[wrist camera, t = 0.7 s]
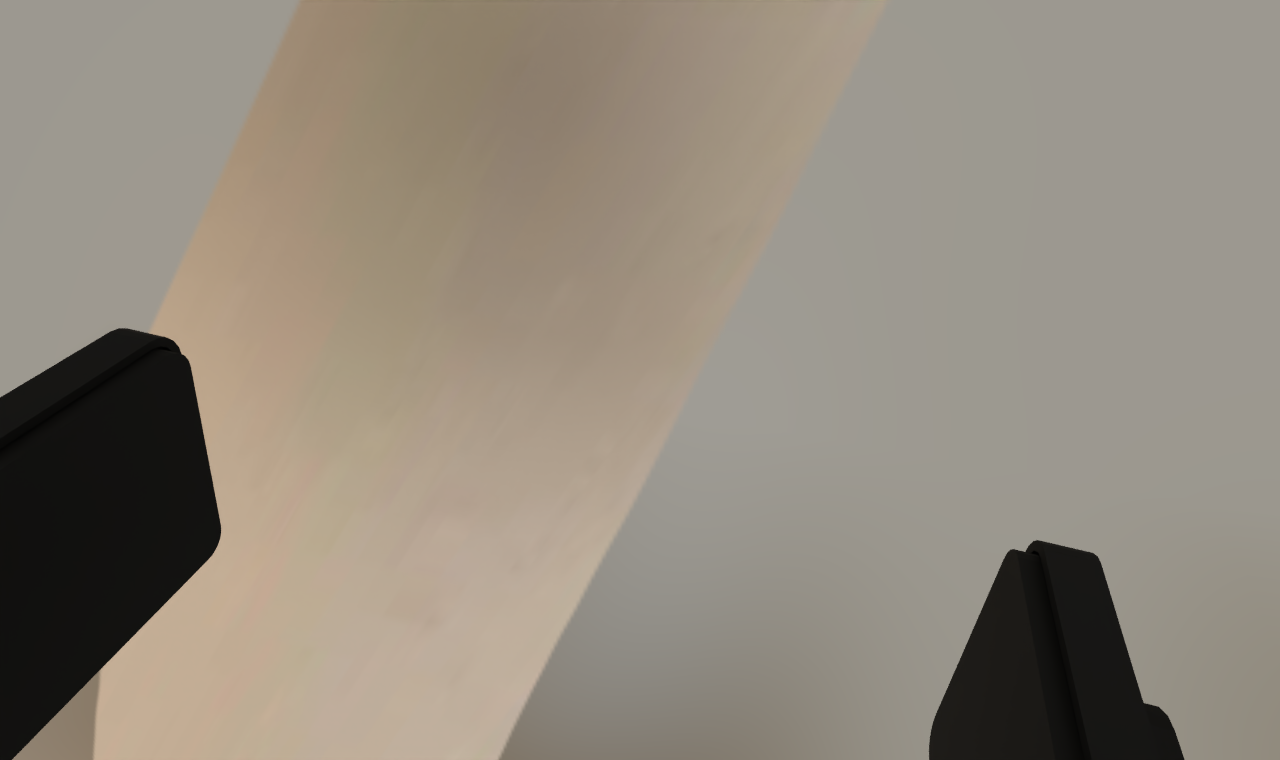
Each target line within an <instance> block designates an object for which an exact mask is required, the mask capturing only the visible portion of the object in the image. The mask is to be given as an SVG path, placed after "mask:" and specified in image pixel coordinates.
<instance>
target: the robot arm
mask: <svg viewBox="0 0 1280 760" xmlns="http://www.w3.org/2000/svg"><path fill="white" fill-rule="evenodd" d="M220 536H221V524H220V518H219V513H218V508H217V503H216V497H215V492H214V487H213V482H212V476H211V471H210V466H209V461H208V455H207V450H206V445H205V439H204V434H203V429H202V424H201V418H200V413H199V408H198V403H197V397H196V392H195V387H194V382H193V376H192V371H191V366H190V363H189V360H188V359H187V358H186V357H185V356H184V355H182V354H181V352H180V349H179V347H178V346H177V344H176V343H175V342H174V341H173V340H171V339H169V338H166V337H162V336H157V335H153V334H149V333H144V332H140V331H135V330H131V329H125V328H124V329H123V328H122V329H120V328H119V329H116V330H114V331H111V332H109V333H107V334H106V335H104V336H102V337H101V338H99V339H97V340H96V341H94V342H92V343H91V344H89V345H87V346H86V347H84V348H82V349H81V350H79V351H77V352H76V353H74V354H72V355H71V356H69V357H67V358H66V359H64V360H62V361H61V362H59V363H57V364H56V365H54V366H52V367H51V368H49V369H47V370H45V371H44V372H42V373H41V374H39V375H37V376H35V377H34V378H32V379H30V380H29V381H27V382H25V383H24V384H22V385H20V386H19V387H17V388H15V389H14V390H12V391H10V392H9V393H7V394H5V395H4V396H2V397H0V760H12V759H13V758H14V757H15V756H16V755H17V754H18V753H19V752H20V751H21V750H22V749H23V748H24V747H25V746H26V745H27V744H28V743H29V742H30V741H31V739H33V738H34V736H35V735H36V734H37V733H38V732H39V731H40V730H41V729H42V728H43V727H44V726H45V725H46V724H47V723H48V722H49V721H50V720H51V719H52V718H53V717H54V716H55V715H56V714H57V713H58V712H59V711H60V710H61V709H62V708H63V707H64V706H65V705H66V704H67V703H68V702H69V701H70V700H71V699H72V698H73V697H74V696H75V695H76V694H77V693H78V692H79V691H80V690H81V689H82V688H83V687H84V686H85V684H87V682H88V681H89V680H90V679H91V678H92V677H93V676H94V675H95V674H96V673H97V672H98V671H99V670H100V669H101V668H102V667H103V666H104V665H105V664H106V663H107V662H108V661H109V660H110V659H111V658H112V657H113V656H114V655H115V654H116V653H117V652H118V651H119V650H120V649H121V648H122V647H123V646H124V645H125V644H126V643H127V642H128V641H129V640H130V639H131V638H132V637H133V636H134V635H135V634H136V633H137V632H138V631H139V630H140V629H141V628H142V627H143V625H144V624H145V623H146V622H147V621H148V620H149V619H150V618H151V617H152V616H153V615H154V614H155V613H156V612H157V611H158V610H159V609H160V608H161V607H162V606H163V605H164V604H165V603H166V602H167V601H168V600H169V599H170V598H171V597H172V596H173V595H174V594H175V593H176V592H177V591H178V590H179V589H180V588H181V587H182V586H183V585H184V584H185V583H186V582H187V581H188V580H189V579H190V578H191V577H192V576H193V575H194V574H195V573H196V571H197V570H198V569H199V568H200V567H201V566H202V565H203V564H204V563H205V562H206V561H207V560H208V559H209V558H210V557H211V556H212V554H213V553H214V551H215V550H216V548H217V546H218V543H219V540H220ZM929 760H1184V757H1183V754H1182V751H1181V748H1180V745H1179V742H1178V739H1177V736H1176V733H1175V730H1174V728H1173V726H1172V724H1171V722H1170V720H1169V718H1168V716H1167V715H1166V714H1165V713H1164V712H1163V711H1162V710H1161V709H1160V708H1159V707H1157V706H1153V705H1149V704H1145V703H1143V700H1142V697H1141V693H1140V690H1139V687H1138V683H1137V680H1136V677H1135V674H1134V670H1133V667H1132V664H1131V660H1130V657H1129V654H1128V651H1127V647H1126V644H1125V641H1124V637H1123V634H1122V631H1121V628H1120V624H1119V621H1118V618H1117V615H1116V611H1115V608H1114V605H1113V601H1112V598H1111V595H1110V591H1109V588H1108V585H1107V581H1106V578H1105V575H1104V572H1103V568H1102V565H1101V562H1100V561H1099V558H1098V556H1096V555H1095V554H1094V553H1090V552H1086V551H1082V550H1078V549H1073V548H1069V547H1065V546H1060V545H1056V544H1052V543H1047V542H1043V541H1038V540H1037V541H1033V542H1032V543H1031V544H1030V545H1029V546H1028V548H1027V550H1026V552H1023V551H1018V550H1015V549H1012V550H1010V551H1009V552H1008V553H1007V554H1006V556H1005V558H1004V560H1003V562H1002V565H1001V567H1000V569H999V571H998V574H997V576H996V578H995V581H994V583H993V585H992V587H991V590H990V592H989V594H988V597H987V599H986V601H985V603H984V606H983V608H982V610H981V613H980V615H979V617H978V619H977V622H976V624H975V626H974V629H973V631H972V634H971V636H970V638H969V640H968V643H967V645H966V647H965V649H964V652H963V654H962V656H961V658H960V661H959V663H958V665H957V668H956V670H955V672H954V674H953V677H952V679H951V681H950V684H949V686H948V688H947V690H946V693H945V695H944V697H943V700H942V702H941V704H940V706H939V709H938V711H937V713H936V716H935V719H934V721H933V725H932V730H931V736H930V745H929Z"/></svg>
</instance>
